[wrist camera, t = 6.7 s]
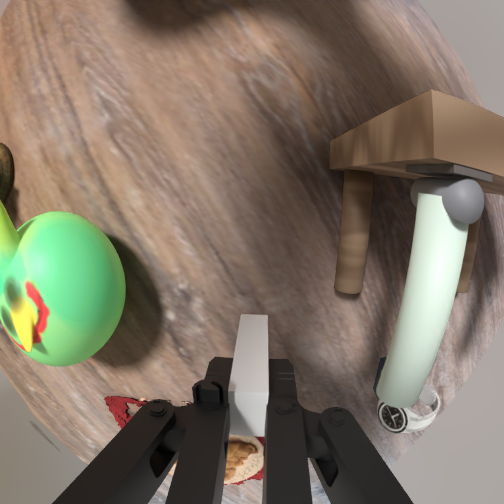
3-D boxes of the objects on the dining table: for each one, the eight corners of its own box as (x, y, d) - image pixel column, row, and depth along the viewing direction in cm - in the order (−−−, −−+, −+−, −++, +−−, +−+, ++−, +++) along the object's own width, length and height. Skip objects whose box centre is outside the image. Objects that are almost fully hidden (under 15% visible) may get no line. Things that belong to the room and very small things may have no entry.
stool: (330, 141, 28) (431, 89, 9) (474, 167, 28) (598, 178, 8) (320, 279, 32) (383, 405, 12) (460, 281, 31) (563, 353, 12)
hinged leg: (404, 173, 14) (448, 173, 10) (445, 180, 14) (492, 185, 10) (367, 374, 17) (387, 418, 13) (405, 371, 17) (429, 411, 13)
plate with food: (107, 389, 39) (98, 402, 35) (275, 397, 36) (275, 415, 33) (152, 471, 45) (148, 483, 41) (281, 480, 43) (281, 494, 39)
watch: (367, 359, 34) (395, 415, 24) (418, 352, 34) (454, 400, 23) (360, 390, 36) (382, 447, 25) (409, 383, 35) (438, 432, 25)
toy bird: (99, 352, 36) (46, 416, 22) (25, 270, 33) (-44, 305, 19) (171, 269, 32) (111, 331, 18) (77, 172, 30) (-13, 177, 16)
